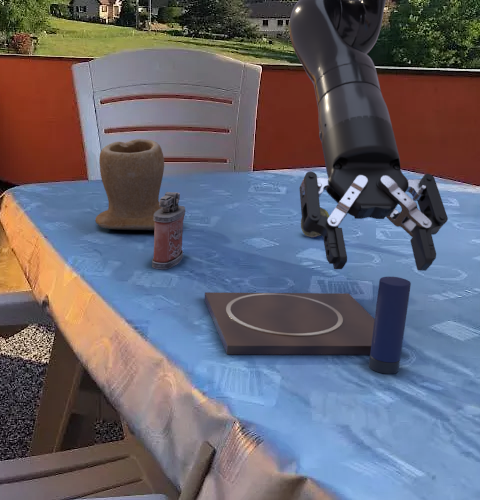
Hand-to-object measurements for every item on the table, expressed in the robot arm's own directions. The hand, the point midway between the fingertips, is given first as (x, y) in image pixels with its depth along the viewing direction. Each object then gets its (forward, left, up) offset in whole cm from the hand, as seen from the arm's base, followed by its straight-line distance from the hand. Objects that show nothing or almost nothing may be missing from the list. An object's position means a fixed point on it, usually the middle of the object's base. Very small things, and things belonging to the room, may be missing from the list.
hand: (383, 266), depth 70 cm
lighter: (+18, -32, -10) cm, 38 cm away
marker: (0, +3, -9) cm, 10 cm away
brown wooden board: (+6, -8, -9) cm, 14 cm away
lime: (-8, -47, -10) cm, 49 cm away
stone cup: (+21, -50, -10) cm, 55 cm away
